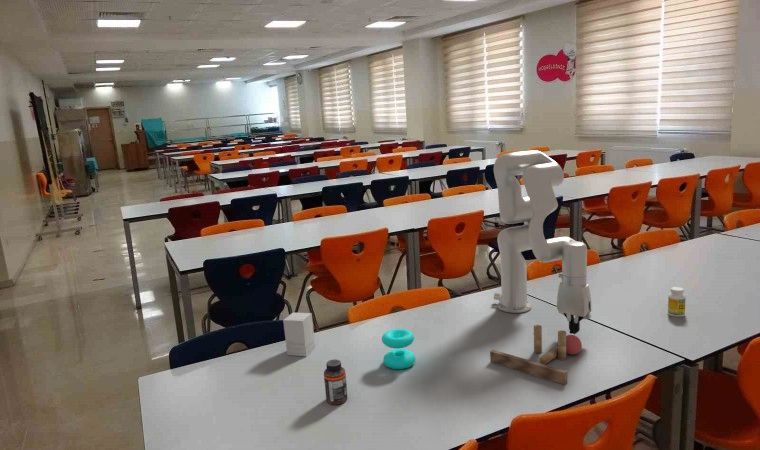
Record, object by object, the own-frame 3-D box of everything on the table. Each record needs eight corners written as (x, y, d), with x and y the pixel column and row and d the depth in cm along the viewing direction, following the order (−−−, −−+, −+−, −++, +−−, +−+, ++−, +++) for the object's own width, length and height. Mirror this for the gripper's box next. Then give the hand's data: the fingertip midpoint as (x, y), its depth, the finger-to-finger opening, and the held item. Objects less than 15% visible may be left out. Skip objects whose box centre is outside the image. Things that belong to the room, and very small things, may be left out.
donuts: (403, 324, 175) (419, 334, 167) (405, 353, 177) (421, 365, 169) (375, 332, 171) (391, 343, 162) (378, 361, 173) (393, 374, 164)
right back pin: (556, 358, 167) (556, 332, 165) (560, 355, 168) (560, 329, 167) (564, 360, 165) (563, 334, 163) (567, 357, 167) (567, 331, 165)
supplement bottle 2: (672, 310, 198) (673, 285, 196) (687, 314, 193) (689, 288, 191) (664, 314, 195) (665, 288, 193) (679, 318, 190) (680, 292, 188)
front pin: (553, 346, 170) (539, 356, 164) (560, 348, 168) (546, 357, 163) (553, 353, 170) (539, 363, 165) (561, 355, 169) (546, 365, 163)
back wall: (490, 361, 168) (490, 351, 167) (493, 360, 169) (492, 349, 168) (564, 384, 151) (564, 373, 150) (567, 382, 152) (567, 371, 151)
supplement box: (316, 347, 187) (312, 312, 184) (306, 357, 180) (302, 321, 177) (296, 346, 189) (293, 311, 187) (286, 355, 182) (282, 319, 180)
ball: (568, 341, 165) (575, 328, 168) (554, 346, 169) (561, 333, 173) (581, 356, 165) (588, 343, 168) (567, 360, 169) (574, 347, 173)
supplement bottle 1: (326, 395, 154) (322, 358, 152) (347, 393, 155) (344, 356, 152) (326, 406, 148) (322, 368, 146) (348, 404, 149) (344, 365, 146)
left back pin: (532, 352, 172) (532, 326, 171) (536, 349, 174) (536, 324, 172) (539, 353, 171) (539, 328, 169) (543, 351, 172) (543, 325, 171)
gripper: (547, 278, 180) (547, 331, 184) (592, 286, 170) (591, 341, 173) (558, 273, 185) (558, 324, 189) (602, 280, 175) (601, 334, 179)
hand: (574, 332), depth 181 cm, fingers closed
